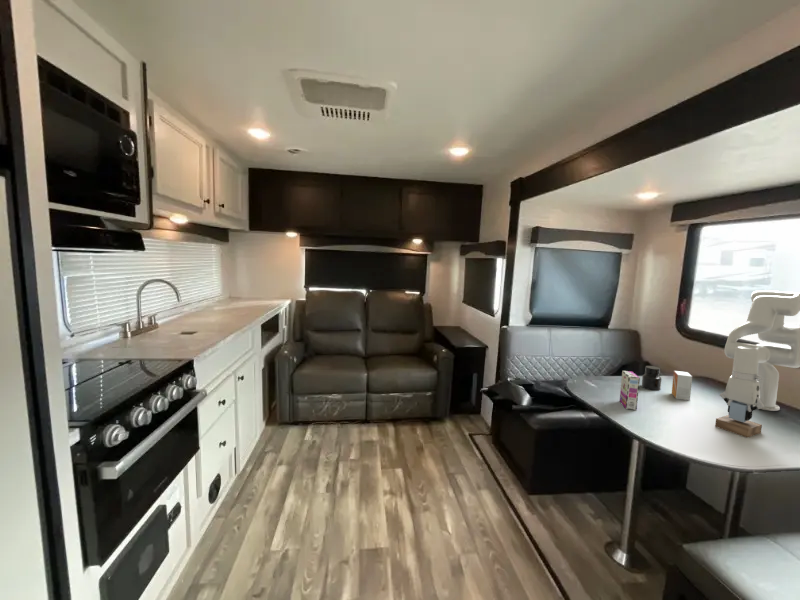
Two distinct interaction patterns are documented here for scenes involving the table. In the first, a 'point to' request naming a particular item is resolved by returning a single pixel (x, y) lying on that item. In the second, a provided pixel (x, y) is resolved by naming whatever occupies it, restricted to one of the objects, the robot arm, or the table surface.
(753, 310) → the robot arm
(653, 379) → the ink bottle
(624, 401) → the candy bar box
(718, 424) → the walnut block
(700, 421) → the table surface
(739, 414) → the slate block
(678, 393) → the small box
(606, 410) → the table surface
